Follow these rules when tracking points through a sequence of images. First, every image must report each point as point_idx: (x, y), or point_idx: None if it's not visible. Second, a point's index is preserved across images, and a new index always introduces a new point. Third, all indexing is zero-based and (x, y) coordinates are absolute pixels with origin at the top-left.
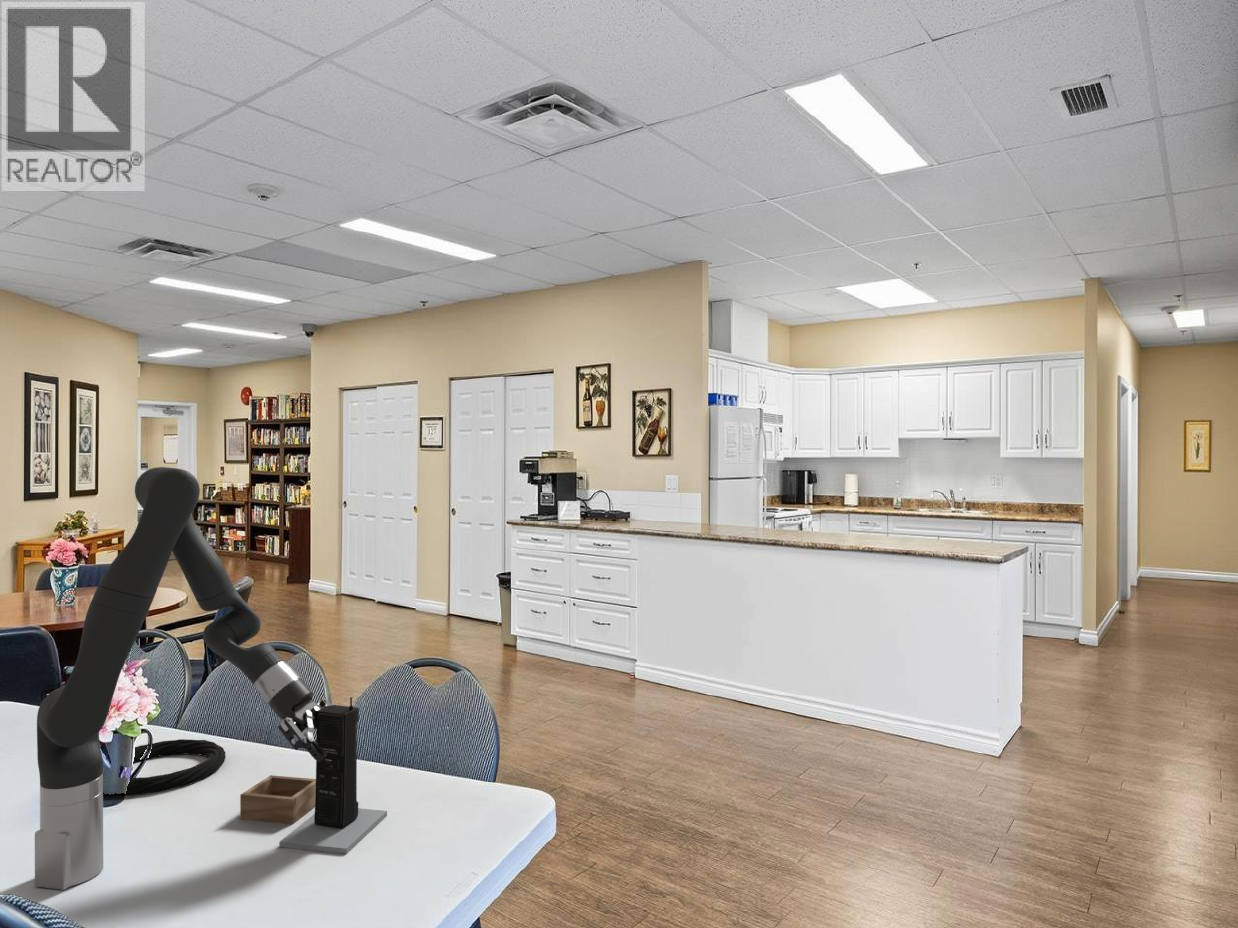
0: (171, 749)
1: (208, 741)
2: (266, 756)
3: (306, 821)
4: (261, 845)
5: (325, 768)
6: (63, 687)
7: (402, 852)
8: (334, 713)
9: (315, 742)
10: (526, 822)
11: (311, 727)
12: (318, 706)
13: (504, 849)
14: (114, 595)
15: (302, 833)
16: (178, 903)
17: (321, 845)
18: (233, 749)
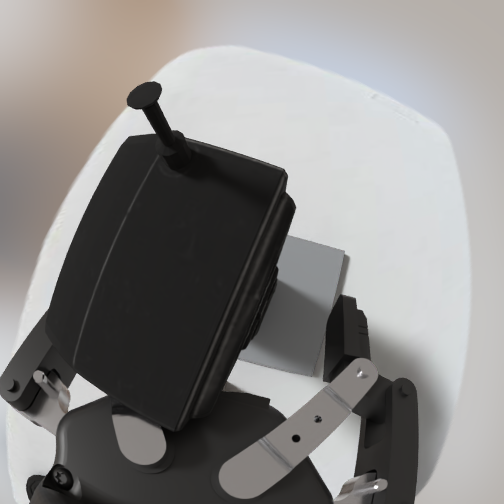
0: None
1: (27, 488)
2: (23, 432)
3: None
4: (300, 403)
5: (254, 320)
6: None
7: (336, 170)
8: (247, 271)
9: (355, 347)
10: (253, 55)
11: (331, 401)
12: (77, 424)
13: (320, 70)
14: None
15: (284, 347)
16: (431, 423)
17: (332, 298)
18: (21, 461)
